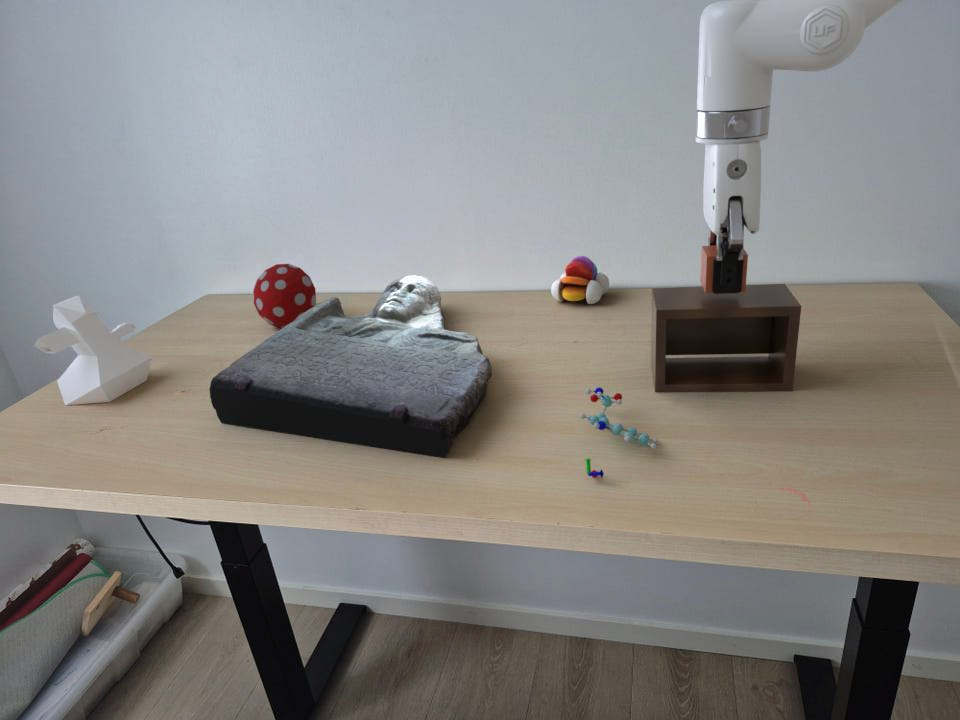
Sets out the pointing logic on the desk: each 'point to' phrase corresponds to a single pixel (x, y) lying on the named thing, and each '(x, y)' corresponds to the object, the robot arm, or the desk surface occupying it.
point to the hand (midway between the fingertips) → (722, 283)
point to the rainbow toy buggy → (580, 282)
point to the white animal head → (93, 355)
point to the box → (707, 268)
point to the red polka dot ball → (283, 294)
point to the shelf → (724, 339)
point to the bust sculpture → (361, 375)
